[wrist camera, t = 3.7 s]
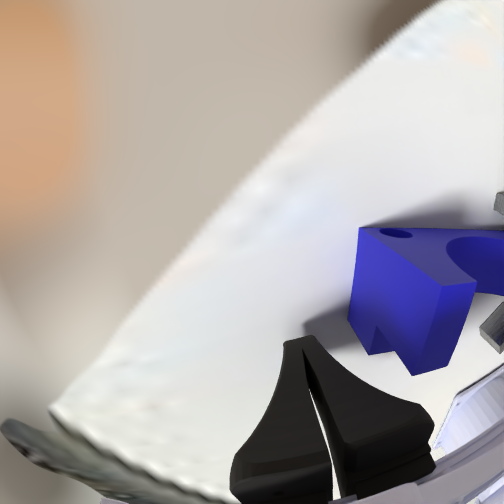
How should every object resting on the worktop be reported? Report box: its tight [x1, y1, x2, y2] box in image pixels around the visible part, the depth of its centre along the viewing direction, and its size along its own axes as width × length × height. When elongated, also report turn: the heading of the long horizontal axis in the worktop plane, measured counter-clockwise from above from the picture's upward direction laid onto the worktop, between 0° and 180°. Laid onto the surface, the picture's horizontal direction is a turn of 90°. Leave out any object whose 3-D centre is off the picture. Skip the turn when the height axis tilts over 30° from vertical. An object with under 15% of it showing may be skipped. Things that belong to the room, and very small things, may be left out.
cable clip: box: [347, 228, 504, 376], centre depth 10 cm, size 12×4×6 cm, turn 91°
